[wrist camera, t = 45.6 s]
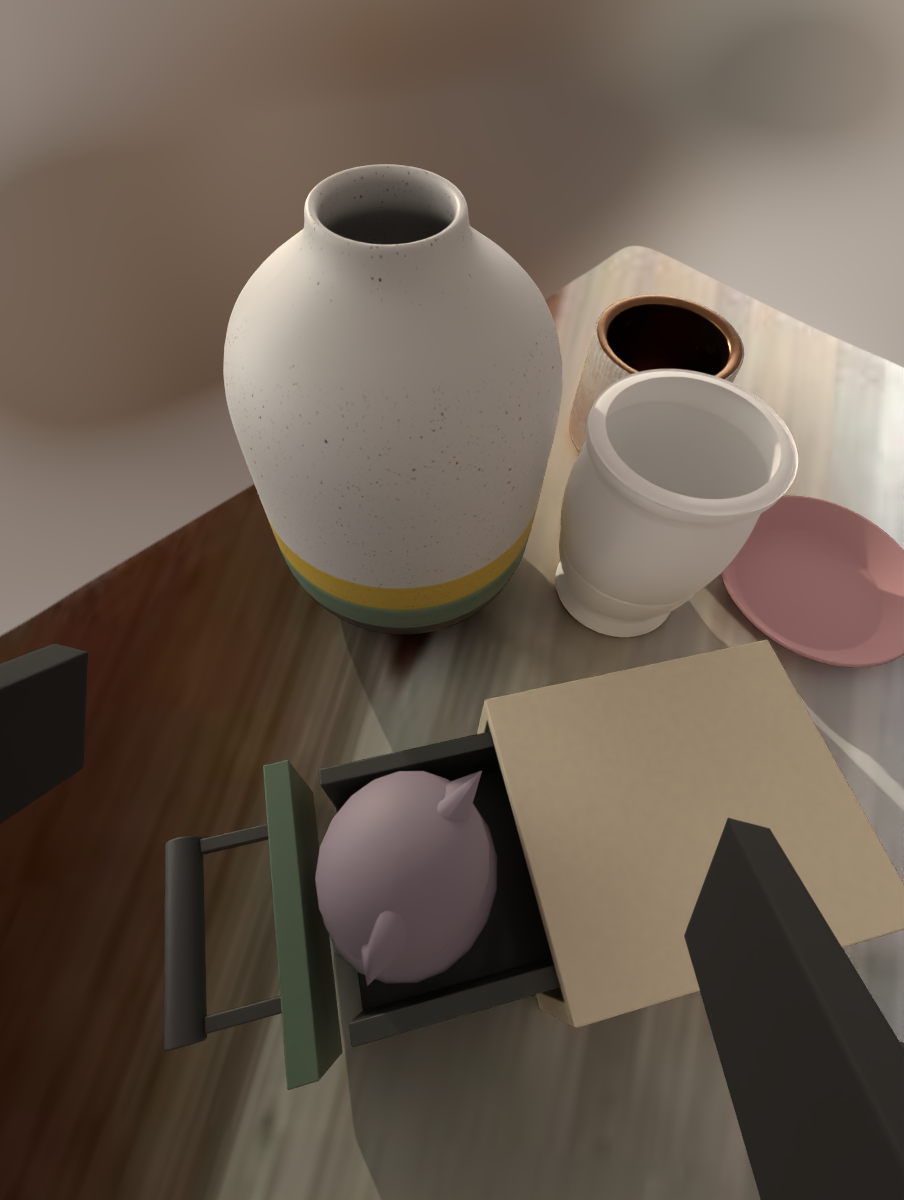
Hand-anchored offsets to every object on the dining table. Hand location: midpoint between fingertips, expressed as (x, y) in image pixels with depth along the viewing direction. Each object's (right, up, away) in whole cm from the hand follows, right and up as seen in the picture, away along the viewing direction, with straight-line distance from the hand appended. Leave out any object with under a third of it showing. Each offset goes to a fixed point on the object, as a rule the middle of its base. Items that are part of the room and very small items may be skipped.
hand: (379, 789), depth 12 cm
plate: (+27, +5, +32) cm, 42 cm away
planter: (+17, +18, +39) cm, 46 cm away
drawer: (-2, -12, +20) cm, 23 cm away
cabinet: (+12, -10, +23) cm, 27 cm away
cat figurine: (-1, -11, +19) cm, 22 cm away
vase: (-2, +7, +32) cm, 33 cm away
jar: (+13, +5, +31) cm, 34 cm away
